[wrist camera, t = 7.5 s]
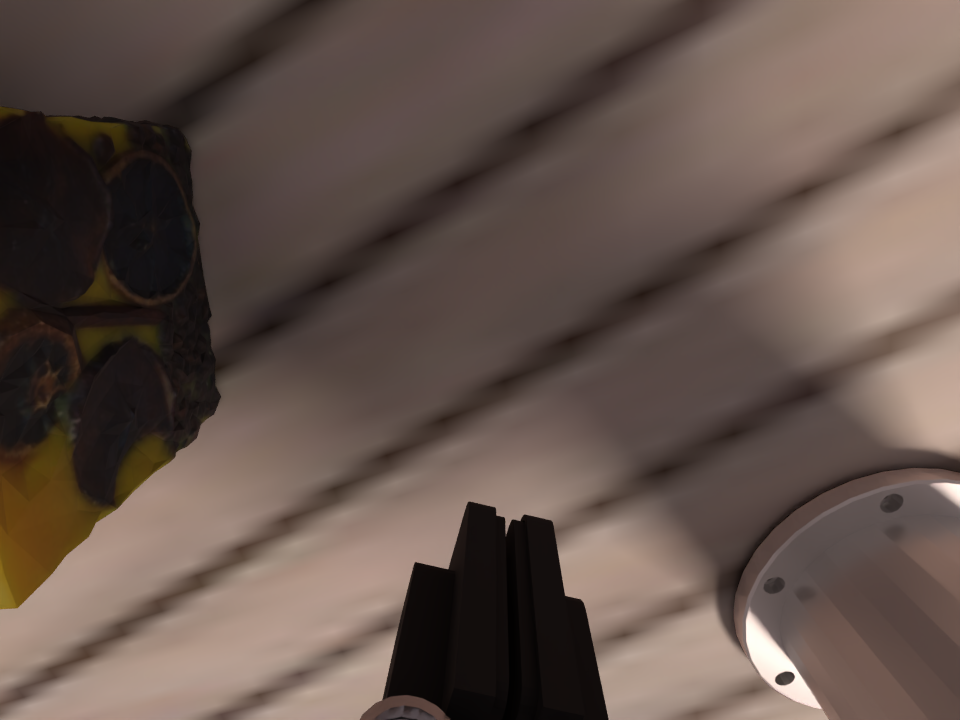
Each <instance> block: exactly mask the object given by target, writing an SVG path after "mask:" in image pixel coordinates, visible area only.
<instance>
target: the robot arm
mask: <svg viewBox="0 0 960 720" xmlns="http://www.w3.org/2000/svg"><path fill="white" fill-rule="evenodd" d="M733 616H734V622H735V629H736V635H737V637H738V639H739V641H740V644H741V646H742V648H743V650H744V652H745V654H746V656H747V657H748V659H749V661H750V662H751V664H752V666H753V667H754V669H755V670H756V672H757V674H758V675H759V676H760V677H761V678H762V679H763V680H764V681H765V682H766V683H767V684H768V685H769V686H770V687H771V688H772V689H774V690H775V691H777V692H779V693H780V694H782V695H784V696H785V697H787V698H789V699H791V700H793V701H796V702H799V703H802V704H805V705H807V706H810V707H814V708H819V709H822V710H823V711H824V713H825V714H826V716H827V717H828V719H829V720H960V473H958V472H953V471H949V470H944V469H929V468H908V469H900V470H893V471H885V472H880V473H876V474H873V475H869V476H866V477H862V478H859V479H855V480H852V481H849V482H847V483H845V484H843V485H840V486H838V487H836V488H834V489H831V490H829V491H827V492H825V493H822V494H821V495H819V496H818V497H816V498H814V499H813V500H811V501H810V502H808V503H806V504H805V505H803V506H802V507H800V508H798V509H797V510H795V511H794V512H793V513H792V514H791V515H790V516H788V517H787V518H786V519H785V520H784V521H783V522H781V523H780V524H779V525H778V526H777V527H776V528H774V529H773V531H772V532H771V533H770V534H769V535H768V536H767V538H766V539H765V540H764V541H763V542H762V544H761V545H760V546H759V547H758V548H757V549H756V551H755V552H754V554H753V556H752V558H751V559H750V561H749V563H748V564H747V566H746V568H745V569H744V571H743V574H742V576H741V579H740V582H739V585H738V588H737V591H736V594H735V604H734V614H733ZM360 720H609V719H608V715H607V710H606V705H605V700H604V695H603V690H602V686H601V681H600V676H599V671H598V666H597V662H596V657H595V652H594V647H593V642H592V638H591V633H590V628H589V623H588V618H587V613H586V609H585V606H584V603H583V602H582V601H581V599H576V598H572V597H567V596H565V593H564V587H563V581H562V575H561V569H560V563H559V556H558V550H557V544H556V538H555V532H554V526H553V522H552V521H551V520H546V519H542V518H538V517H534V516H529V515H523V517H522V519H521V521H517V520H512V521H511V523H510V525H509V528H508V532H507V535H506V533H505V518H504V517H500V516H496V508H495V507H491V506H486V505H482V504H478V503H473V502H468V503H467V506H466V509H465V513H464V516H463V520H462V523H461V527H460V530H459V534H458V537H457V541H456V544H455V548H454V551H453V555H452V558H451V562H450V565H449V569H443V568H439V567H434V566H430V565H426V564H421V563H417V562H415V564H414V567H413V571H412V575H411V578H410V582H409V586H408V590H407V594H406V598H405V602H404V606H403V610H402V614H401V619H400V623H399V627H398V632H397V636H396V640H395V645H394V650H393V654H392V659H391V663H390V668H389V672H388V677H387V682H386V686H385V691H384V695H383V700H382V701H379V702H377V703H375V704H374V705H373V706H372V707H371V708H369V709H368V710H367V711H366V712H365V713H364V714H363V715H362V716H361V718H360Z"/></svg>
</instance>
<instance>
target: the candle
mask: <svg viewBox="0 0 960 720" xmlns="http://www.w3.org/2000/svg"><path fill="white" fill-rule="evenodd" d="M190 160H191V149H190V147H189V145H188V143H187V140H186V138H185V136H184V135H183V134H182V133H181V132H180V131H179V130H178V129H177V128H174V127H171V126H168V125H159V124H156V123H152V122H149V121H139V122H133V121H130V122H129V121H125V120H121V119H117V118H112V117H103V118H99V117H96V116H94V117H91V118H87V117H82V116H52V115H51V116H45V115H44V114H43V113H42V112H41V111H40V112H29V111H24V110H20V109H13V108H7V107H1V106H0V609H12V608H18V607H19V606H20V605H21V604H22V603H23V602H24V601H25V600H26V599H27V598H28V597H29V596H30V595H31V594H32V593H33V592H34V591H35V590H36V589H37V588H38V587H39V586H40V585H41V584H42V583H43V582H44V581H45V580H46V579H47V578H48V577H49V576H50V575H51V574H52V573H53V572H54V571H55V569H56V568H57V567H58V565H59V564H60V563H61V562H62V560H63V559H64V558H65V556H66V555H67V554H68V553H69V552H71V551H72V550H73V549H74V548H76V547H77V546H78V545H79V544H81V543H82V542H83V541H84V540H85V539H87V538H88V537H89V535H90V533H91V531H92V529H93V527H94V525H95V523H96V522H98V521H99V520H101V519H102V518H104V517H105V516H107V515H109V514H110V513H112V512H113V511H115V510H116V509H118V508H119V507H120V505H121V504H122V503H123V502H124V501H125V500H126V499H127V498H128V497H129V496H130V495H131V494H132V492H134V491H135V490H136V489H137V488H138V487H139V486H140V485H141V484H142V483H143V482H144V481H146V480H147V479H148V478H149V477H150V476H151V475H152V474H153V473H154V472H156V471H157V470H159V469H160V468H162V467H163V466H165V465H166V464H168V463H169V462H170V461H171V460H173V459H174V458H175V456H176V452H177V451H179V450H180V449H182V448H185V447H187V446H188V445H189V444H190V443H192V442H193V441H194V440H195V439H196V438H197V435H198V432H199V429H200V425H201V424H202V423H203V422H204V421H205V420H206V419H207V418H209V417H210V416H212V415H214V413H215V411H216V408H217V406H218V403H219V400H220V398H221V396H220V394H219V393H218V391H217V390H216V388H215V374H214V370H215V357H214V354H213V352H212V349H211V346H210V345H211V339H210V330H209V326H208V323H207V321H208V320H209V319H210V317H211V312H210V308H209V303H208V298H207V293H206V288H205V282H204V277H203V270H202V263H201V256H200V249H199V243H198V232H199V225H200V223H199V221H198V219H197V216H196V214H195V211H194V208H193V206H192V198H193V194H192V179H191V174H190Z"/></svg>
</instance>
